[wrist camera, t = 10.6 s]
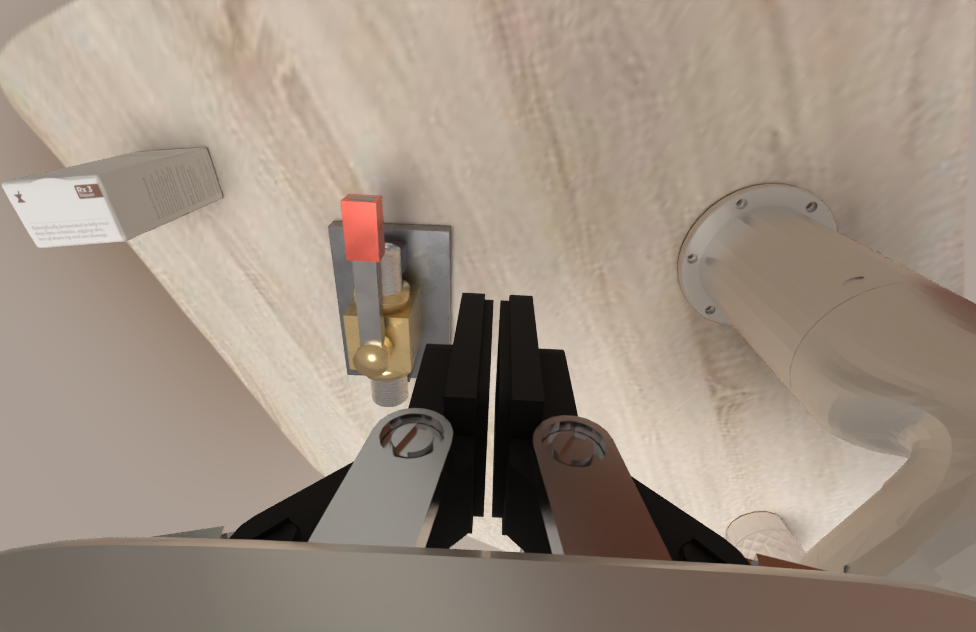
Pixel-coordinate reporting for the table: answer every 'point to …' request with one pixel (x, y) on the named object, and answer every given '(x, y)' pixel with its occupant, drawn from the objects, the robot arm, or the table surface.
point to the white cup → (764, 537)
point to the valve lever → (367, 279)
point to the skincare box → (113, 196)
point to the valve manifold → (400, 301)
